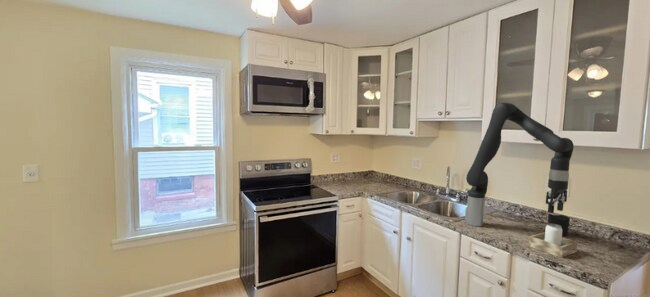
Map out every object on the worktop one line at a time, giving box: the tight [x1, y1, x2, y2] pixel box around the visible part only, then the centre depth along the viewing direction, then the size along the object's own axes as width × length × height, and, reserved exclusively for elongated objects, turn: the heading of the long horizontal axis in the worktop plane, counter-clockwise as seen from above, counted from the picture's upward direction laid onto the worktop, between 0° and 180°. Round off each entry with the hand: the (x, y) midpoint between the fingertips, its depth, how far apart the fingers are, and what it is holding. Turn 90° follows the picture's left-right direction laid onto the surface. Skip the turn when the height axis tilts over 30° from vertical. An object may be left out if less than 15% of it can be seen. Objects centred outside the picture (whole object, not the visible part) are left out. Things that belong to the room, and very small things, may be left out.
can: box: [545, 222, 563, 246], centre depth 141 cm, size 6×6×12 cm
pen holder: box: [547, 213, 570, 237], centre depth 162 cm, size 9×9×10 cm
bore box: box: [528, 231, 578, 259], centre depth 141 cm, size 14×14×5 cm
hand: (555, 211), depth 139 cm, fingers open, 8 cm apart
